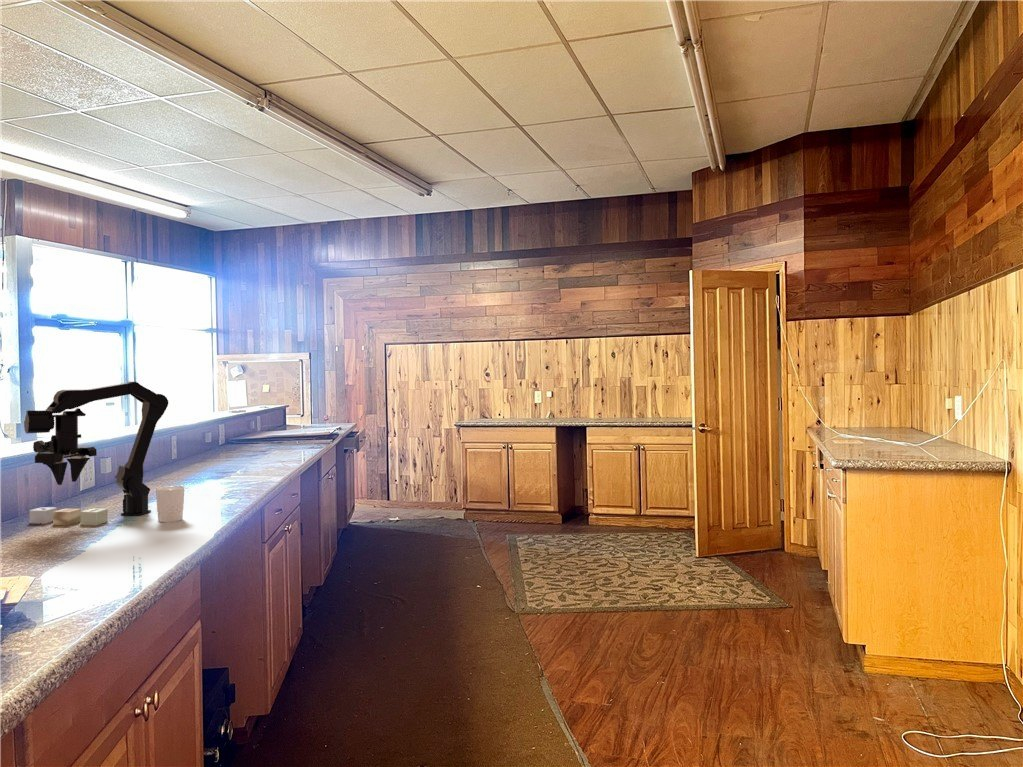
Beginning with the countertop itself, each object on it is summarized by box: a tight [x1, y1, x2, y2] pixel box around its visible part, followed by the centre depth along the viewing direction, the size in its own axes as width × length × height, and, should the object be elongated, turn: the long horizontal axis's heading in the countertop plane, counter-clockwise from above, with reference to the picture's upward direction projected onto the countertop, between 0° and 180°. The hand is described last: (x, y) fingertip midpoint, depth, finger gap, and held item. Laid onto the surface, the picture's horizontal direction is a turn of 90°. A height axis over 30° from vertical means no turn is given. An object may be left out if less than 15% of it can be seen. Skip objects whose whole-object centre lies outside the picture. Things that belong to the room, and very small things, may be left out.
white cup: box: [155, 485, 185, 523], centre depth 216 cm, size 8×8×10 cm
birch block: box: [52, 508, 82, 526], centre depth 210 cm, size 5×5×4 cm
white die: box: [29, 506, 58, 525], centre depth 212 cm, size 5×5×4 cm
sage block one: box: [80, 508, 109, 526], centre depth 211 cm, size 5×5×4 cm
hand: (67, 483), depth 210 cm, fingers open, 6 cm apart
